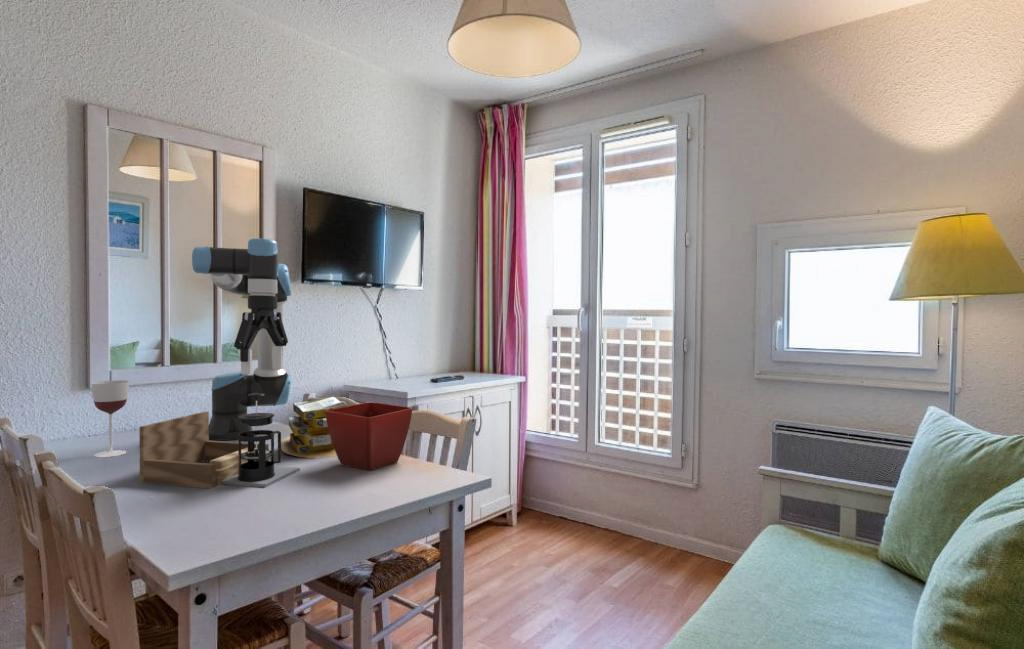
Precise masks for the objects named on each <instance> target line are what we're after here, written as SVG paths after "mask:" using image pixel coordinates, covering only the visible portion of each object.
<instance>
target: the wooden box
mask: <svg viewBox="0 0 1024 649" xmlns="http://www.w3.org/2000/svg"><path fill="white" fill-rule="evenodd" d="M209 414H210V413H209V411H201V412H197V413H192V414H188V415H184V416H180V417H176V418H172V419H167V420H163V421H159V422H154V423H150V424H146V425H142V426H139V483H142V484H143V483H145V484H155V485H166V486H178V487H179V486H180V487H191V488H202V489H203V488H204V489H213V488H215V487H216V485H215V464H210V463H206V462H210V460H213V459H216V458H219V457H222V456H225V455H228V454H230V453H233V452H236V451H238V441H225V440H210V439H209V424H210V420H209V419H210V418H209V416H210V415H209ZM269 446H270V445H269V443H268V444H266V450H269V448H270V447H269ZM245 448H248V442H241V450H242V449H245ZM254 448H256V442H254ZM257 448H258V450H259V443H257ZM269 459H270V458H269V457H267V458H266V461H270V460H269ZM255 461H259V459H255Z"/></svg>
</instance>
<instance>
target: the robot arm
mask: <svg viewBox="0 0 1024 649" xmlns="http://www.w3.org/2000/svg"><path fill="white" fill-rule="evenodd" d="M278 253H279V250H278V243H277V241H276V240H274V239H271V238H270V239H269V238H250V239H249V240H248V241H247V248H228V247H226V248H225V247H213V246H212V247H211V246H196V247H194V248H193V249H192V254H191V266H192V270H193V272H194V273H195V274H203V275H210V278H211V281H212V283H214V285H215V286H216V287H218V288H219V289H221V290H223V291H226V292H229V293H231V294H235V295H236V294H237V295H246V296H248V297H247V308H248V309H249V310H251V312H250V311H249V312H247V311H246V312H245V311H244V312H242V316H241V318H242V319H241V321H240V322H241V323H240V326H239V329H238V331H237V335H236V339H235V341H234V344H233V347H234V348H236V350H239V351H240V352H239V354H240V360H239V361H240V371H236V372H228V373H223V374H218V375H215V377H213V379H212V380H211V381H212V382H211V388H210V389H211V418H210V420H209V441H228V440H229V441H231V440H232V441H233V440H238V434H240V433H242V432H247V431H253V426H249V425H247V424H246V423H242V422H241V420H240V419H239V418H238V417H239V416H241V415H245V414H248V408H249V407H253V408H254V407H256V401H255V396H248V395H249V394H253V393H263V394H265V395H263V396H259V397H258V401H257V407H270V406H271V407H272V406H273V407H275V406H282V405H285V404H287V403H288V401H289V396H290V392H291V390H290V389H291V382H292V375H291V374H290V373H288V369H287V368H286V367H285V366H284V364H283V363H284V362H283V359H284V357H283V355H284V354H283V353H284V348H283V347H286V346H287V345H288V343H289V339H288V337H287V333H286V330H285V326H284V323H283V322H284V320H283V316H284V312H283V310H284V308H283V307H284V304H285V303H286V302H287V301H288V297H290V296H292V288H291V281H290V280H291V279H290V273H289V267H288V266H287V265H286V264H284V263H279V260H278ZM256 337H257V340H256V341H257V367H256V368H255V369H254V370H253V350H252V349H250V348H251V346H252V344H253V343H254V340H255V339H256ZM246 437H248V436H246Z"/></svg>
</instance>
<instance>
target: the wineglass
mask: <svg viewBox="0 0 1024 649" xmlns="http://www.w3.org/2000/svg"><path fill="white" fill-rule="evenodd" d="M129 387H130V381H129V380H125V379H123V380H102V381H96V382H95V381H94V382H91V394H92V400H93V404H94V406H95V408H96V409H98V410H99V411H101V412H104V413H105V414H108V422H109V423H108V428H109V429H108V431H109V432H108V435H109V436H108V442H109V443H108V444H109V446H108V447H109V448H108V449H109V450H105V451H102V452H99V453H98V452H97V453H95V454H94V455H93V456H94V458H95V457H97V458H109V457H111V458H112V457H118V456H121V454H122V455H125V454H127V453H126V451H127V450H123V449H121V450H113V448H114V446H113V444H114V443H113V440H114V439H113V436H114V435H113V432H114V430H113V414H114V413H116V412H117V411H119V410H121V409H122V408H124V406H125V405H126V404H127V401H128V396H129V389H130V388H129ZM122 450H123V451H122Z"/></svg>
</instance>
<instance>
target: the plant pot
mask: <svg viewBox="0 0 1024 649" xmlns="http://www.w3.org/2000/svg"><path fill="white" fill-rule="evenodd" d="M412 414H413V407H409V406H403V405H402V406H401V405H396V404H389V403H382V402H381V403H380V402H374V401H368V402H362V403H359V404H358V403H356V404H352V405H347V406H346V407H340V408H335V409H330V410H325V415H326V421H327V425H328V429H329V433H330V437H331V440H332V443H333V446H334V449H335V452H336V454H337V455H336V456H337V459H338V461H339V464H340V465H342V466H345V467H346V466H347V467H351V468H354V469H355V468H356V469H360V470H363V471H372V470H376V469H378V468H381V467H384V466H387V465H391V464H393V463H396V462H398V461H399V459H400V458H401V454H402V451H403V449H404V446H405V443H406V440H407V436H408V432H409V429H410V425H411V420H412V416H413V415H412Z"/></svg>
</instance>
